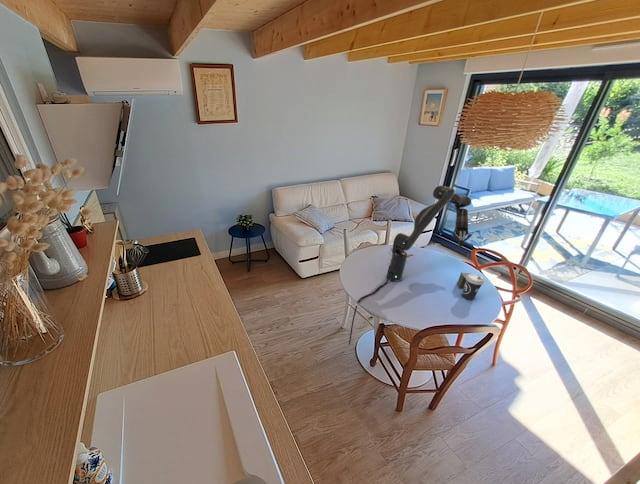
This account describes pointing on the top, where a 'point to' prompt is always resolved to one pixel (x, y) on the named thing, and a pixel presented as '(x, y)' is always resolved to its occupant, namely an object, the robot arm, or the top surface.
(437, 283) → the top surface
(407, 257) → the magic lamp
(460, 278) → the walnut block
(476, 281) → the coffee cup
